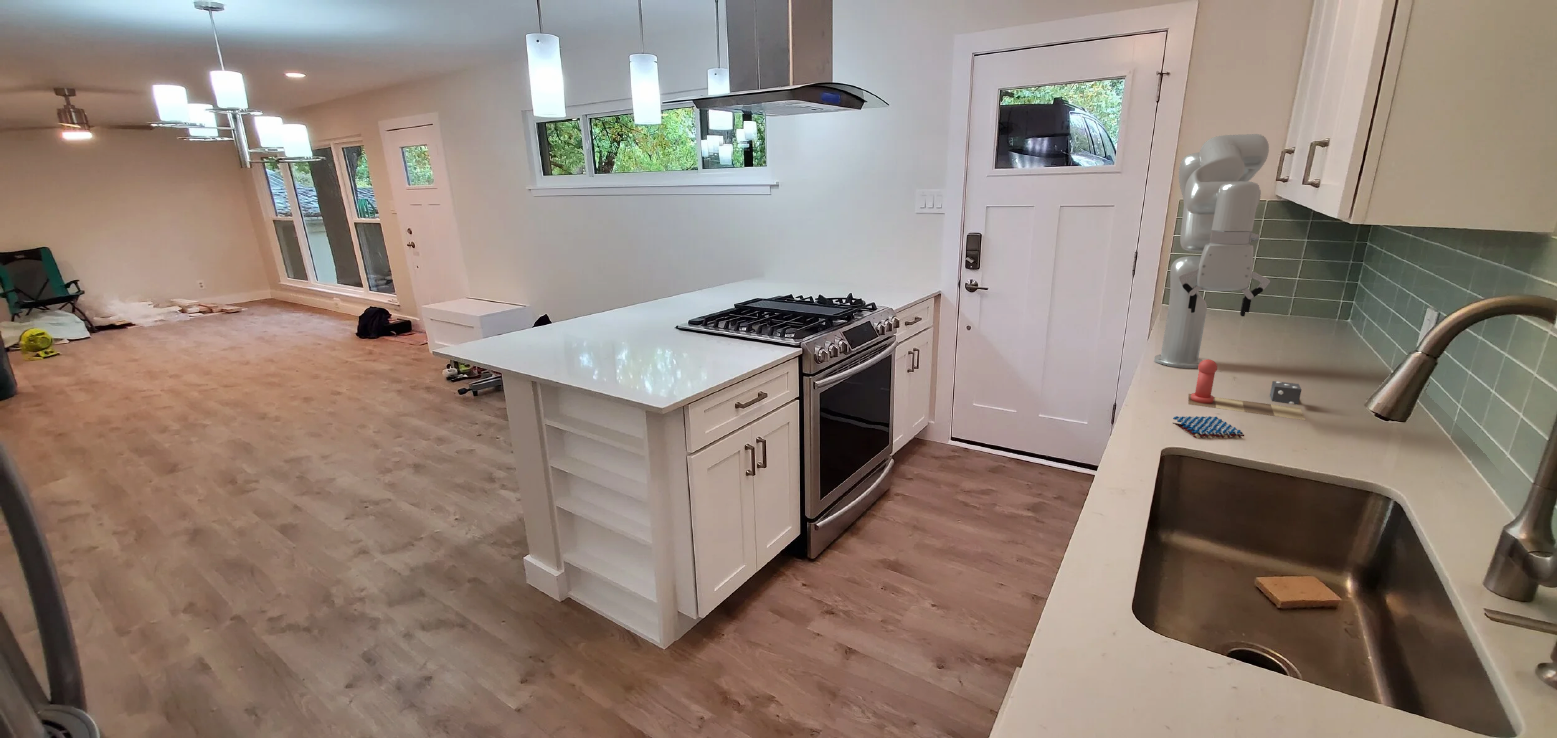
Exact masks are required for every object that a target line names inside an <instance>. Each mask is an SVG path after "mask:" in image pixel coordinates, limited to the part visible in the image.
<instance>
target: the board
mask: <svg viewBox="0 0 1557 738" xmlns="http://www.w3.org/2000/svg"><path fill="white" fill-rule="evenodd" d="M1191 394H1192V393H1188V395H1187V396H1188V399H1187V400H1188V402H1187V403H1188V405H1189V406H1190V405H1191V406H1198V407H1205V408H1212V409H1213V408H1214V409H1221V410H1228V411H1235V412H1242V413H1248V414H1249V413H1250V414H1256V415H1257V414H1258V415H1265V416H1271V417H1277V418H1279V417H1280V418H1285V419H1286V418H1287V419H1293V420H1301V421H1306V418H1305V415H1304V414H1303V411H1302V409H1301V407H1294V406H1287V405H1280V404H1279V405H1278V404H1271V403H1265V402H1256V401H1249V400H1248V401H1247V400H1242V399H1241V400H1239V399H1232V398H1225V397H1217V396H1213V397H1214V400H1213V403H1210V404H1204V403H1198V402H1194V401H1192V400H1191Z"/></svg>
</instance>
